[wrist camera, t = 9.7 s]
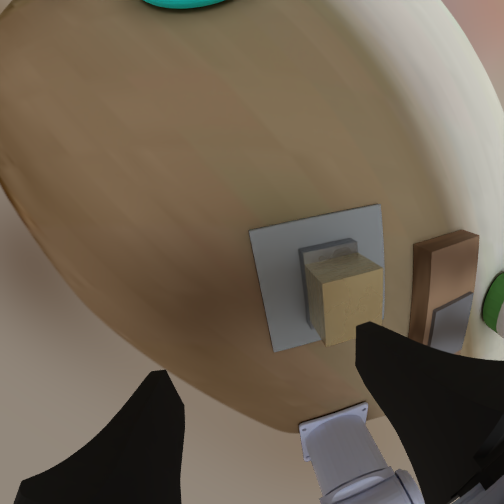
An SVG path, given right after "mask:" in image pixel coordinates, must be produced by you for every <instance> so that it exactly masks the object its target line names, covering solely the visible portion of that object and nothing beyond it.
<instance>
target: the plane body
mask: <svg viewBox="0 0 504 504" xmlns="http://www.w3.org/2000/svg"><path fill="white" fill-rule="evenodd" d="M413 246H414V261H413V290H412V305H411V317H410V326H409V335H408V338H409V339H412V340H414V341H417V342H419V343H422V344H424V345H427V346H430V347H433V348H435V349H438V350H441V351H445V352H448V353H452V354H456V355H460V352H461V349H462V345H463V341H464V337H465V333H466V329H467V325H468V320H469V315H470V310H471V305H472V300H473V293H474V287H475V280H476V271H477V262H478V250H479V235H477V234H474V233H471V232H468V231H465V230H459V231H456V232H453V233H449V234H446V235H443V236H440V237H436V238H433V239H430V240H426V241H423V242H419V243H416V244H413Z"/></svg>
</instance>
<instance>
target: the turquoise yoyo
mask: <svg viewBox="0 0 504 504" xmlns="http://www.w3.org/2000/svg"><path fill="white" fill-rule="evenodd" d="M144 1H145V2H147V3H150V4H152V5H156V6H159V7H165V8H175V9H185V8H196V7H202V6H207V5H212V4H215V3H219V2H222V1H224V0H144Z"/></svg>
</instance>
